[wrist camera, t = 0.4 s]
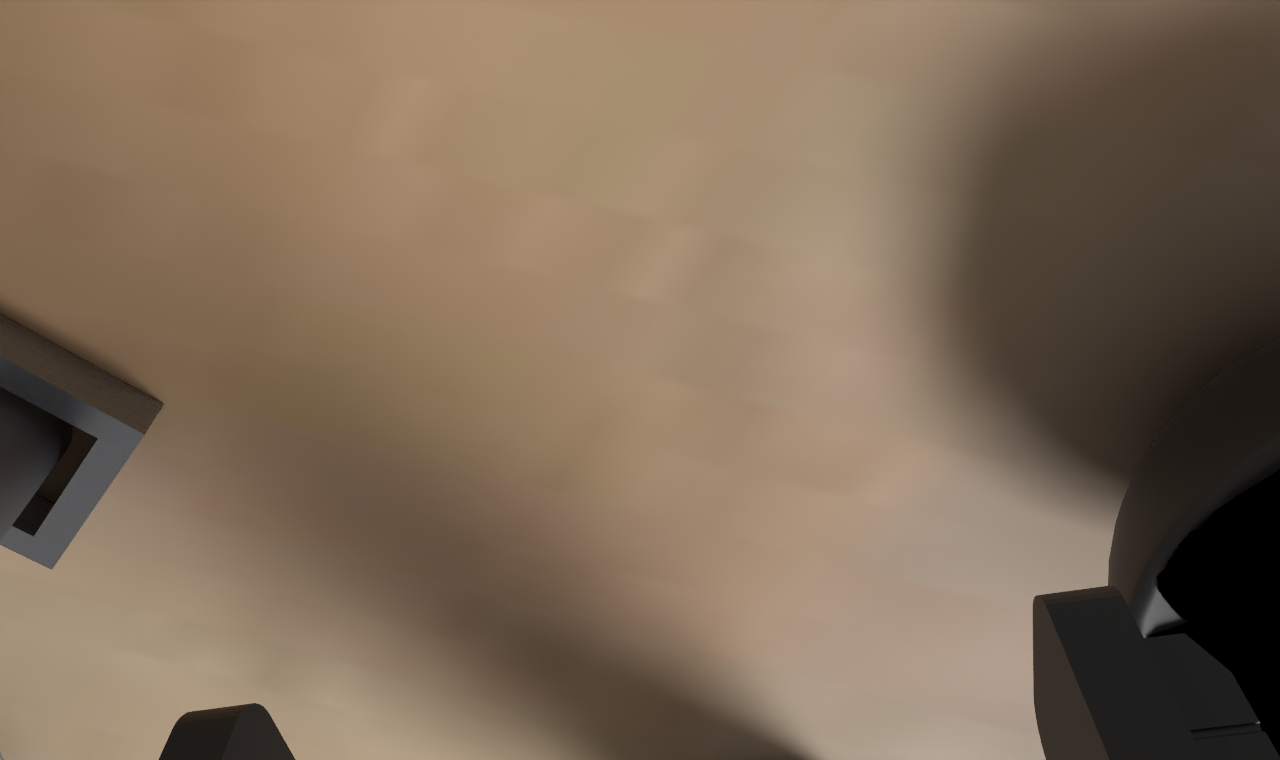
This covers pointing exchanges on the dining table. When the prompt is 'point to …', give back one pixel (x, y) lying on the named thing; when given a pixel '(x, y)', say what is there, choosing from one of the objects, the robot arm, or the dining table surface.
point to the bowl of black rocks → (1213, 529)
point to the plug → (26, 452)
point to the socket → (84, 402)
